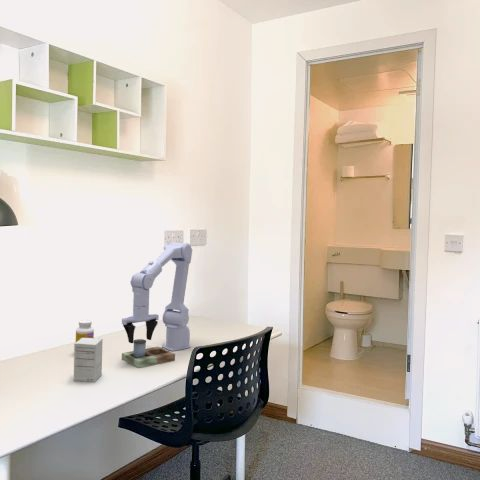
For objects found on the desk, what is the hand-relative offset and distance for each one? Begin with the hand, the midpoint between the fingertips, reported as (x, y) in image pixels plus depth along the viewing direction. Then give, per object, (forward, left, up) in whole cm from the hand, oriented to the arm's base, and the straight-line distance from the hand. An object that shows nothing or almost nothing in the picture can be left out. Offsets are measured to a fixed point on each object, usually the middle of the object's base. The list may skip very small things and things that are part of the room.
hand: (139, 341), depth 178 cm
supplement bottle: (+13, -20, -8) cm, 25 cm away
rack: (-4, 0, -8) cm, 9 cm away
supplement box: (+23, +5, -8) cm, 25 cm away
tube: (0, 0, -8) cm, 8 cm away
